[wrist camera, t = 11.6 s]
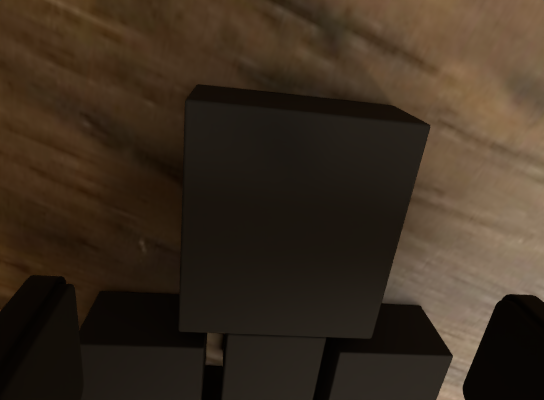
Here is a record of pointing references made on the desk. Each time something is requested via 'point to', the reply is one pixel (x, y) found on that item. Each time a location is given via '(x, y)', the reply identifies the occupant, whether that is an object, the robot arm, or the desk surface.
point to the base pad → (208, 380)
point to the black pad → (289, 227)
